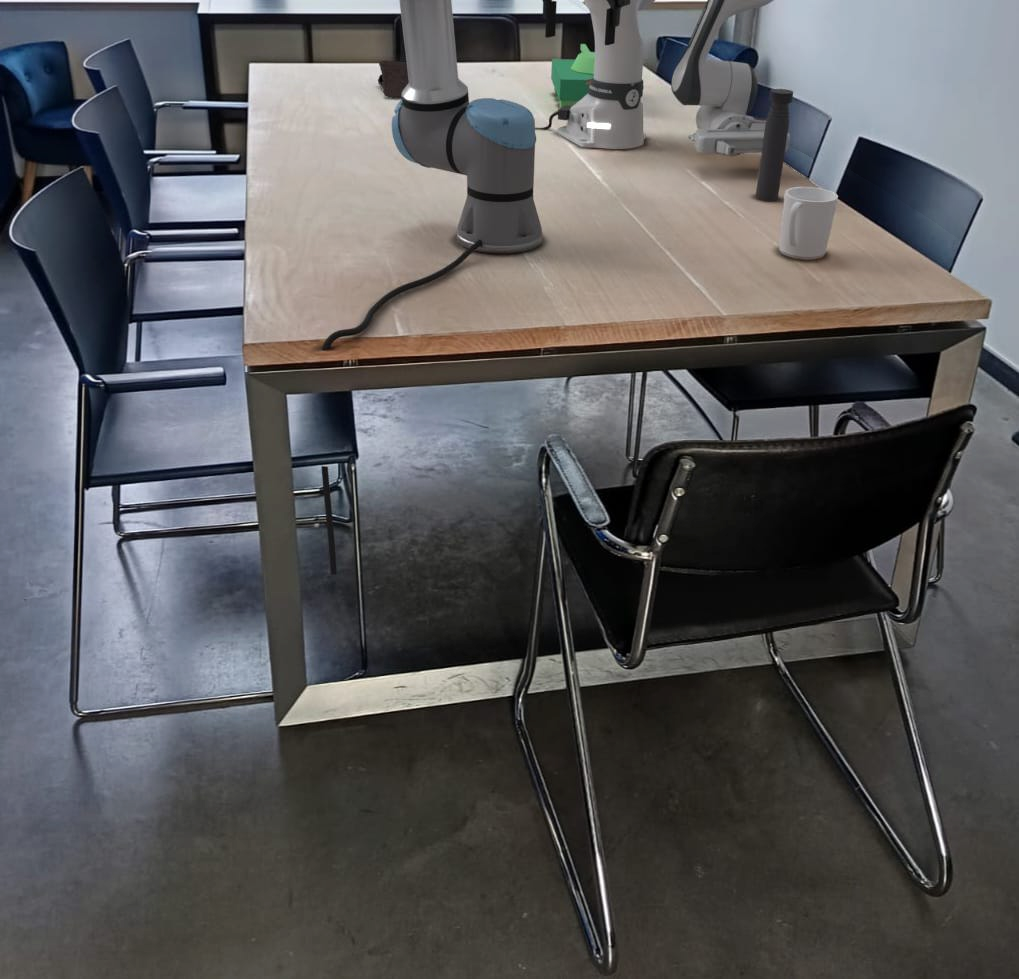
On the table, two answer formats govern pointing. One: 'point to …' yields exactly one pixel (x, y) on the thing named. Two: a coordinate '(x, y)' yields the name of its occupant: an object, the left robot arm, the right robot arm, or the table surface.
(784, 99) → the cap
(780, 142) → the bottle
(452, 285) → the table surface
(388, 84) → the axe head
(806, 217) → the mug
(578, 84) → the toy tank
